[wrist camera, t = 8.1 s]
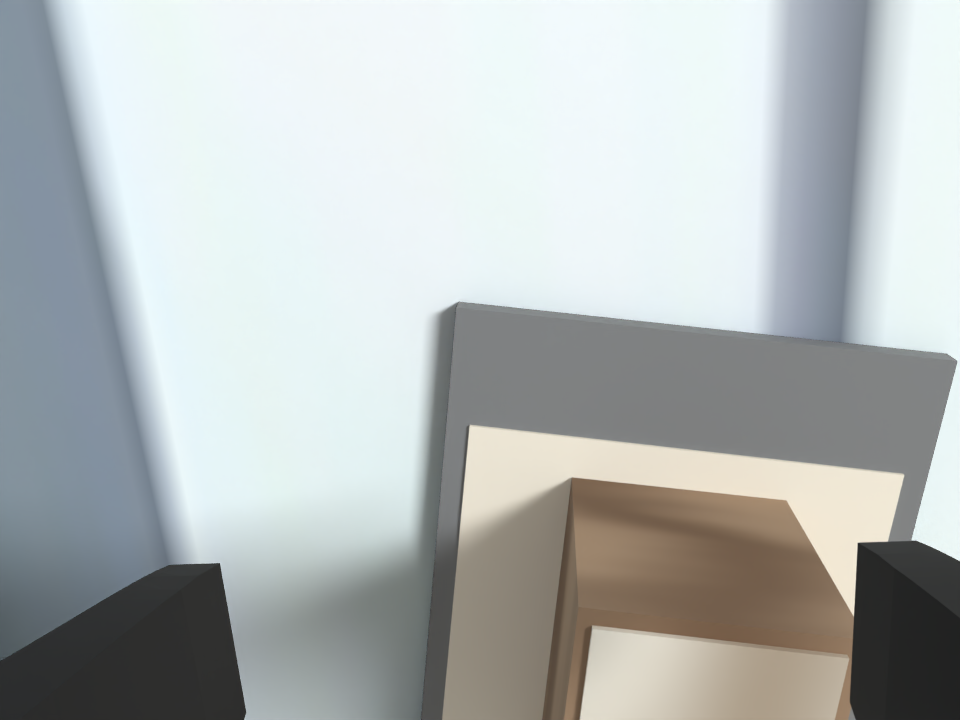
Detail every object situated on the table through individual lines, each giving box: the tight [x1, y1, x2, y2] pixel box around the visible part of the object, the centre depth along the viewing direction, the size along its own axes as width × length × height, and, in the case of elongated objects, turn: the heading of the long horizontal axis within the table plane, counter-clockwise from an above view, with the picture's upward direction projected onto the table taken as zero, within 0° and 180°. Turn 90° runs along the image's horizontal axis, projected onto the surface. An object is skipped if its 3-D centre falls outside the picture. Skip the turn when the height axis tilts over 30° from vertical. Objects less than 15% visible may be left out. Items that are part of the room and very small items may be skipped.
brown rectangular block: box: [542, 477, 854, 720], centre depth 17 cm, size 4×7×5 cm, turn 175°
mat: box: [421, 302, 957, 720], centre depth 20 cm, size 14×10×1 cm
